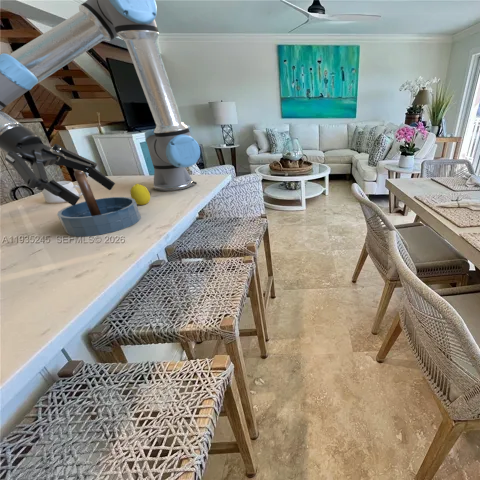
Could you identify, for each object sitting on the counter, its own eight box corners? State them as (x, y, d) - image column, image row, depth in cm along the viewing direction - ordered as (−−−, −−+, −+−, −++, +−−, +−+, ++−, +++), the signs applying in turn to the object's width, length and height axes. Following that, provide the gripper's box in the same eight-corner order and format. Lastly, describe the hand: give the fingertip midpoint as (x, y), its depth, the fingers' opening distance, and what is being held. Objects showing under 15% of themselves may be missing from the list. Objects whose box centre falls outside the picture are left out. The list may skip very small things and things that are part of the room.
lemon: (150, 202, 96) (143, 180, 93) (155, 206, 93) (148, 183, 89) (133, 206, 93) (125, 183, 89) (137, 210, 89) (129, 186, 86)
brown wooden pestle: (114, 218, 81) (95, 167, 74) (108, 225, 76) (87, 171, 69) (91, 221, 79) (68, 168, 72) (83, 228, 74) (58, 173, 67)
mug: (40, 205, 94) (32, 188, 91) (54, 197, 102) (46, 182, 99) (81, 201, 97) (74, 185, 94) (91, 194, 105) (85, 179, 103)
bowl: (138, 210, 89) (132, 193, 86) (145, 228, 76) (138, 208, 73) (69, 223, 79) (60, 204, 76) (64, 245, 67) (53, 223, 64)
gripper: (49, 141, 78) (118, 190, 86) (-54, 155, 56) (51, 219, 63) (59, 121, 76) (129, 173, 83) (-44, 128, 54) (63, 198, 61)
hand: (96, 193), depth 73 cm, fingers open, 13 cm apart
